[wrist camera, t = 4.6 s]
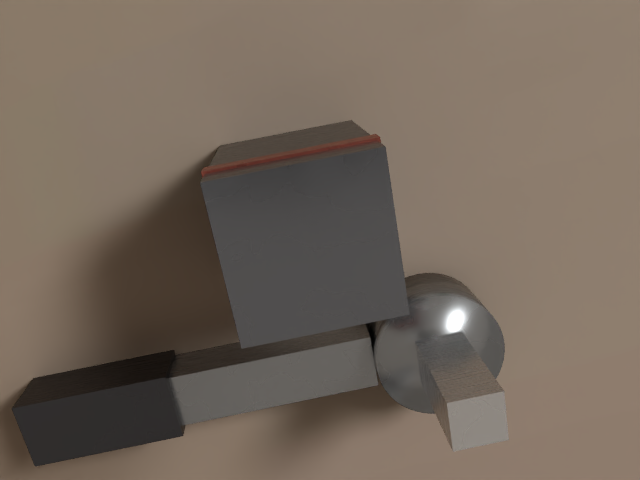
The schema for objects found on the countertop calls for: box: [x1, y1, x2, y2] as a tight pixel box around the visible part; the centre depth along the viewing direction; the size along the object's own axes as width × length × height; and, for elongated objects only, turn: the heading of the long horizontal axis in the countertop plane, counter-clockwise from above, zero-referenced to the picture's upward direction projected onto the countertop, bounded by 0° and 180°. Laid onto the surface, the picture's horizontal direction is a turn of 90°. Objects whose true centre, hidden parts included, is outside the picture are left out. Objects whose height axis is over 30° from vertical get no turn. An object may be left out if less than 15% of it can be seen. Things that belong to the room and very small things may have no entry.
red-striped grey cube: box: [200, 120, 410, 349], centre depth 23 cm, size 6×6×8 cm
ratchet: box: [12, 273, 509, 466], centre depth 26 cm, size 22×6×8 cm, turn 100°
